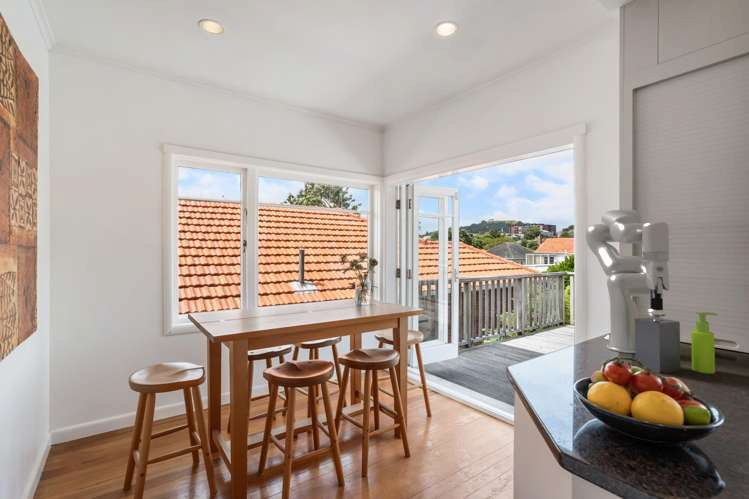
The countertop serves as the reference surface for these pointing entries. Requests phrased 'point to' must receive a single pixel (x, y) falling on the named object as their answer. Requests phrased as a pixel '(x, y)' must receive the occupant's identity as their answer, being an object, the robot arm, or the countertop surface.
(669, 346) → the block
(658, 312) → the plunger
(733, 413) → the countertop surface
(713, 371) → the soap dispenser
